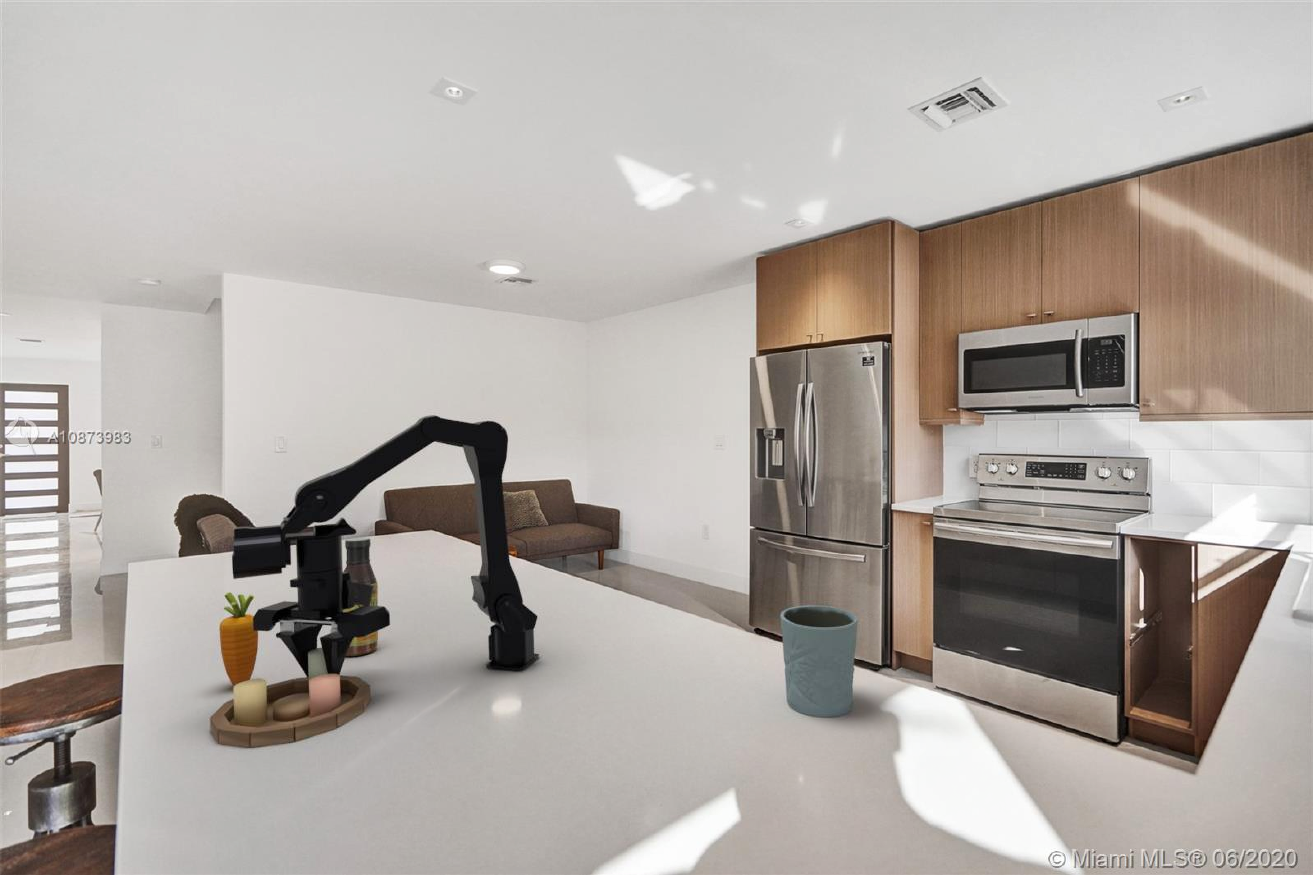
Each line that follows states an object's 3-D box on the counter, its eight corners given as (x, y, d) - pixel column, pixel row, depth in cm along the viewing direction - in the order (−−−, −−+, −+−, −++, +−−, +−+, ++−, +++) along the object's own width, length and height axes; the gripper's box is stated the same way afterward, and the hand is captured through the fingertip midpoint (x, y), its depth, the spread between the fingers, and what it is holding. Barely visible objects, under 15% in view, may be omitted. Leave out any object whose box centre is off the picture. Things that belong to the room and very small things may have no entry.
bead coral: (347, 712, 85) (346, 674, 85) (326, 724, 81) (325, 685, 81) (324, 709, 86) (323, 672, 86) (303, 721, 82) (302, 683, 82)
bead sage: (343, 682, 91) (342, 647, 91) (324, 692, 88) (323, 656, 88) (322, 680, 92) (321, 646, 92) (302, 690, 89) (301, 654, 89)
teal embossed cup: (808, 683, 92) (806, 601, 92) (874, 703, 85) (871, 613, 85) (767, 705, 85) (765, 616, 85) (835, 728, 78) (832, 631, 78)
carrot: (267, 688, 96) (265, 589, 96) (234, 701, 92) (231, 597, 92) (246, 683, 98) (244, 586, 98) (213, 695, 94) (210, 594, 94)
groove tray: (396, 697, 91) (396, 680, 91) (294, 760, 74) (294, 739, 74) (295, 687, 96) (294, 671, 96) (177, 744, 79) (176, 724, 79)
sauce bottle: (363, 658, 108) (359, 542, 108) (331, 657, 109) (327, 542, 109) (386, 646, 115) (383, 536, 115) (356, 644, 116) (353, 536, 116)
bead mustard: (274, 717, 84) (272, 680, 84) (249, 730, 80) (248, 690, 80) (252, 715, 85) (251, 678, 85) (227, 727, 81) (226, 688, 81)
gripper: (412, 559, 95) (416, 663, 95) (310, 556, 100) (313, 655, 100) (359, 575, 84) (363, 692, 84) (248, 571, 89) (251, 682, 89)
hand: (323, 678), depth 90 cm, fingers closed on bead sage, 3 cm apart
